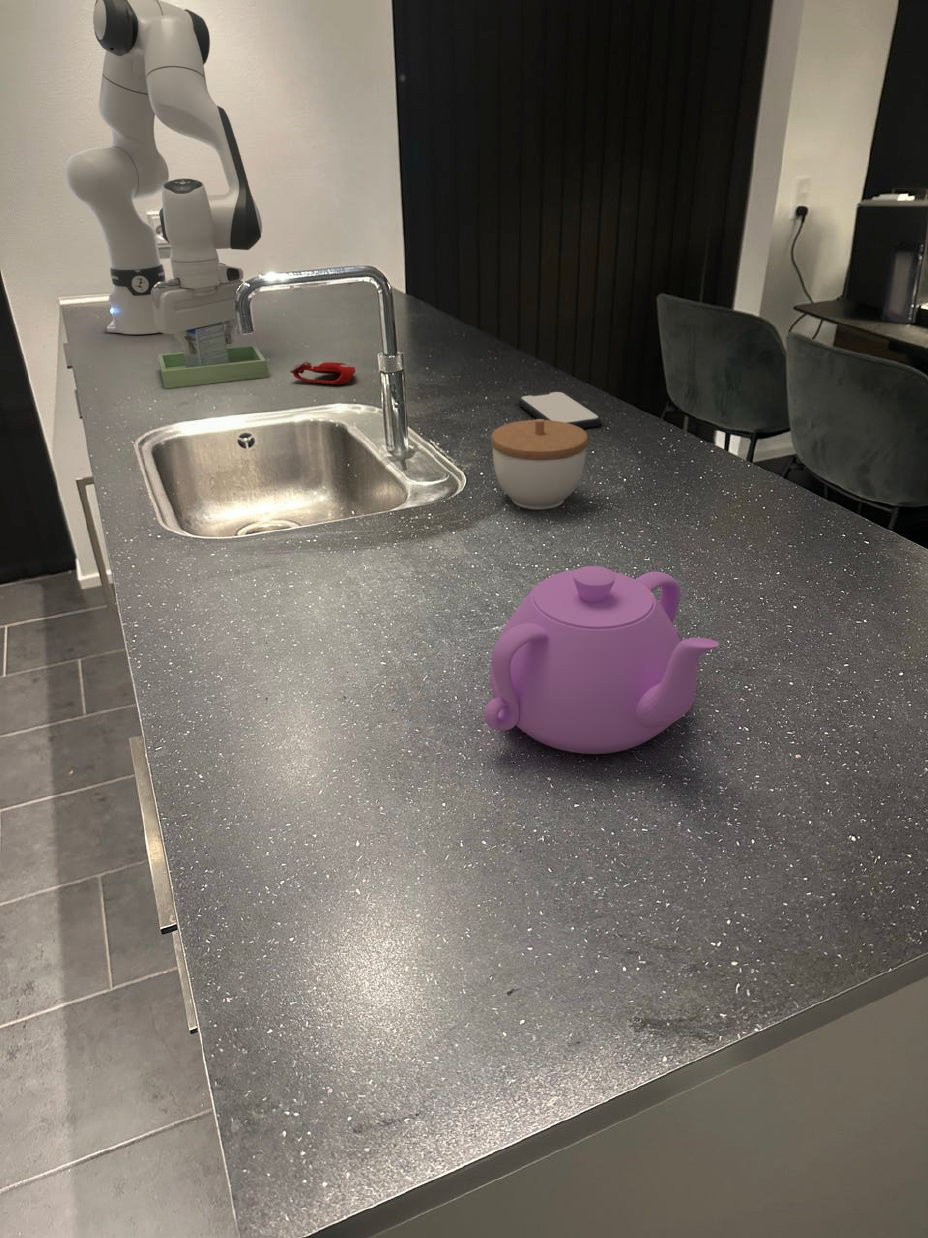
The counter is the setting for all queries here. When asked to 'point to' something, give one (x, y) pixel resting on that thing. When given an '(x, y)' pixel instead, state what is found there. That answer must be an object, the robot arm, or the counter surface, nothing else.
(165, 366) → the tray
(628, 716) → the teapot
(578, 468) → the lidded bowl
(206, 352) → the medicine box
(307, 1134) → the counter surface
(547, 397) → the phone case
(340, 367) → the tracker holder
